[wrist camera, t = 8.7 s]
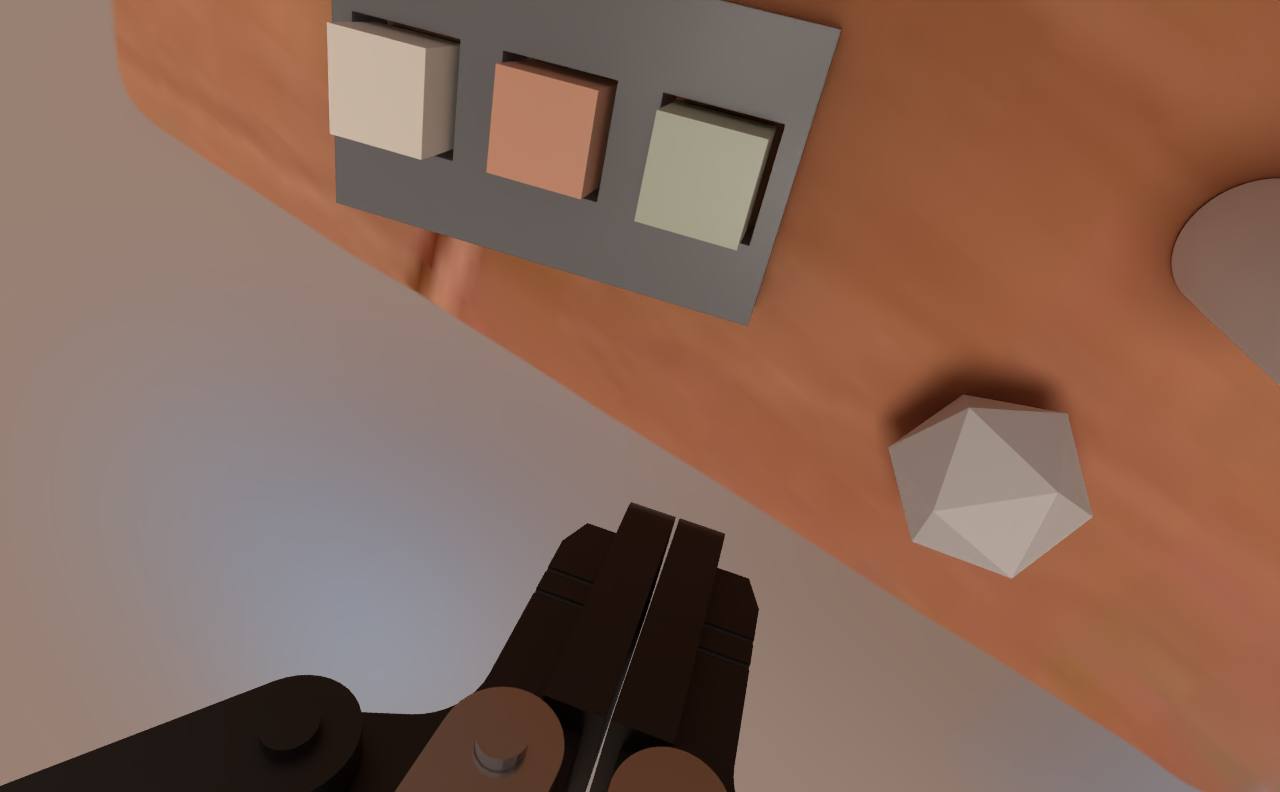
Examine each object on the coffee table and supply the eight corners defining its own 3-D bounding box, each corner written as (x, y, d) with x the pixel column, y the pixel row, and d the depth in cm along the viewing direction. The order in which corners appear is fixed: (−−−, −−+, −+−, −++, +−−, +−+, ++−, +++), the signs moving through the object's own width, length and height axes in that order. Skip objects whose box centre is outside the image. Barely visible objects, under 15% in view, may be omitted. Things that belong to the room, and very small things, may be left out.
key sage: (676, 100, 34) (656, 109, 30) (777, 126, 33) (768, 139, 30) (654, 201, 36) (634, 221, 33) (747, 228, 36) (736, 250, 32)
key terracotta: (529, 58, 35) (496, 63, 32) (622, 83, 35) (598, 90, 31) (518, 158, 38) (486, 172, 35) (605, 182, 37) (580, 199, 34)
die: (855, 424, 42) (885, 596, 37) (935, 346, 34) (986, 552, 29) (985, 431, 43) (1030, 598, 38) (1091, 358, 35) (1164, 556, 31)
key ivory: (376, 21, 36) (326, 22, 32) (466, 45, 35) (425, 48, 32) (376, 123, 38) (329, 133, 35) (460, 146, 38) (421, 160, 34)
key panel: (367, -87, 35) (329, -95, 32) (841, 28, 32) (841, 29, 29) (367, 191, 42) (336, 202, 39) (754, 305, 39) (747, 326, 37)
